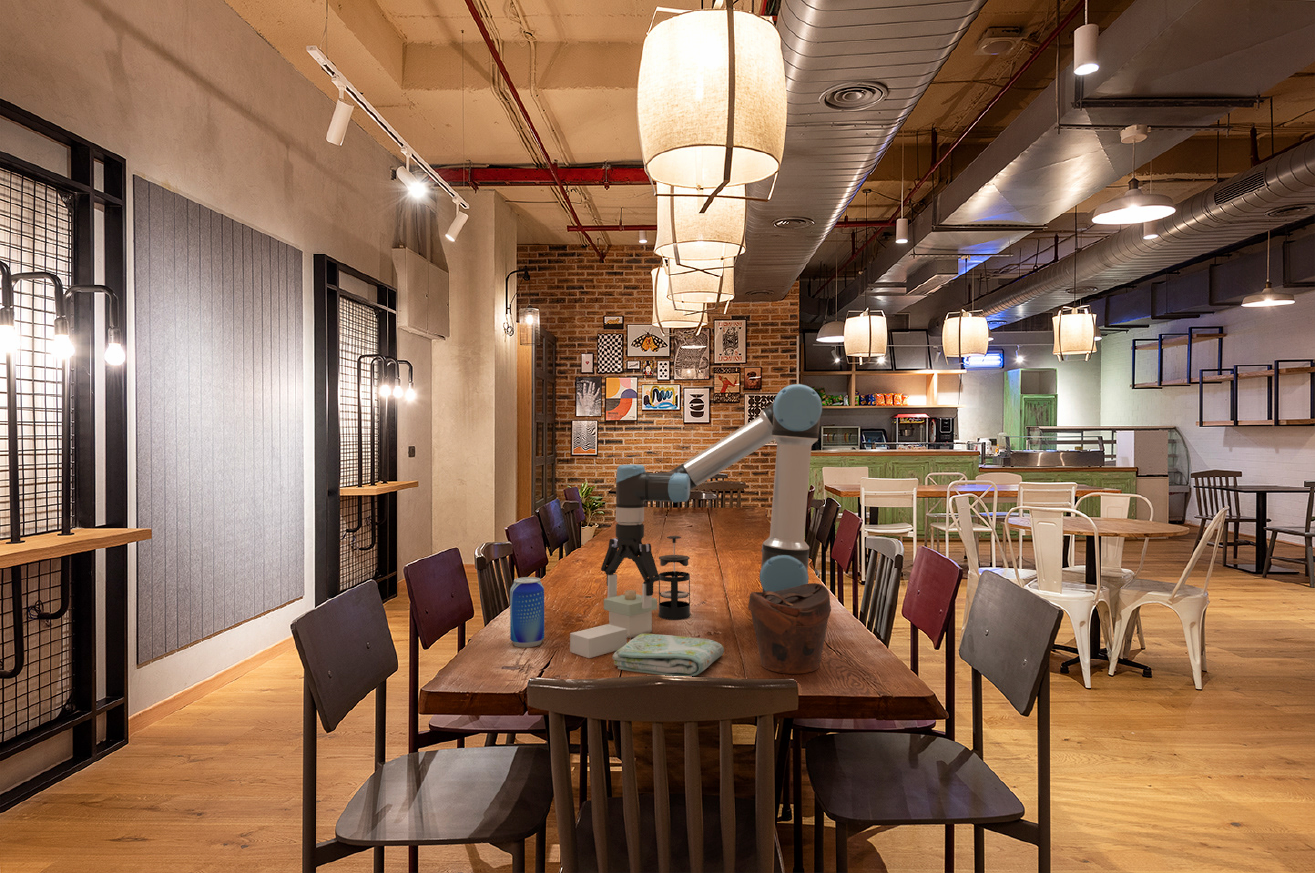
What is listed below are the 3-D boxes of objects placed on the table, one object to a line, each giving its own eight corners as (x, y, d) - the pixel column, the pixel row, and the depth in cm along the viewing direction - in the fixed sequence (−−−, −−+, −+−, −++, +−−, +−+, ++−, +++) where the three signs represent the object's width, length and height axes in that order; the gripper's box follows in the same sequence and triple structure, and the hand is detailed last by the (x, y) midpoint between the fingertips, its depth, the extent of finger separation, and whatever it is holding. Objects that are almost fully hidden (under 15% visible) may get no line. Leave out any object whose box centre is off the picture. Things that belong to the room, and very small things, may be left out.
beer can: (540, 637, 184) (540, 575, 184) (547, 646, 176) (547, 581, 176) (507, 640, 181) (507, 577, 181) (513, 649, 173) (513, 584, 173)
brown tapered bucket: (731, 670, 157) (732, 588, 157) (770, 648, 173) (771, 574, 173) (808, 687, 147) (810, 600, 147) (841, 662, 163) (842, 584, 163)
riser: (626, 647, 174) (626, 629, 174) (588, 658, 166) (588, 638, 166) (608, 641, 179) (608, 623, 179) (570, 651, 171) (570, 633, 171)
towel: (641, 648, 175) (641, 627, 175) (725, 657, 167) (725, 635, 167) (610, 670, 158) (609, 647, 158) (700, 682, 150) (700, 658, 150)
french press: (690, 620, 200) (690, 538, 200) (657, 620, 200) (656, 538, 200) (690, 610, 212) (690, 533, 212) (659, 610, 212) (658, 533, 212)
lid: (657, 609, 188) (657, 591, 188) (629, 616, 181) (629, 597, 181) (631, 603, 195) (631, 585, 195) (603, 609, 188) (603, 591, 188)
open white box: (651, 631, 188) (651, 609, 188) (629, 638, 183) (629, 614, 183) (631, 626, 194) (631, 604, 194) (609, 632, 188) (609, 609, 188)
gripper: (673, 526, 182) (672, 609, 182) (609, 517, 200) (608, 593, 200) (652, 528, 177) (651, 614, 177) (588, 519, 195) (588, 597, 195)
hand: (629, 603), depth 188 cm, fingers open, 13 cm apart
